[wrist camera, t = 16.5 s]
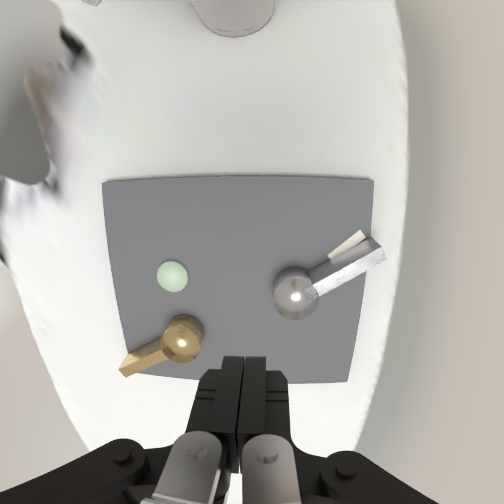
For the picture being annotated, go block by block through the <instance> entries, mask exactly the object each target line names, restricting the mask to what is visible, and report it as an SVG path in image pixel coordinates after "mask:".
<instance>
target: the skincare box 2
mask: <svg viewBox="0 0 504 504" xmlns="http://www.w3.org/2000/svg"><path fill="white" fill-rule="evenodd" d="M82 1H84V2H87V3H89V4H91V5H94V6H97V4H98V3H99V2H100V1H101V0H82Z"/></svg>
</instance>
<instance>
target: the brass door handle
mask: <svg viewBox="0 0 504 504" xmlns="http://www.w3.org/2000/svg"><path fill="white" fill-rule="evenodd" d="M203 338H204V328H203V326H202V324H201V323H200V322H199V321H198V320H197V319H195V318H194V317H191V316H188V315H179V316H176V317H174V318H173V319H172V320H171V321H170V323H169V325H168V327H167V328H166V330H165V332H164V334H163V336H162V337H161V338H159V339H157V340H155V341H153V342H151V343H149V344H147V345H145V346H143V347H141V348H139V349H137V350H135V351H133V352H131V353H129V354H128V355H127V357H126V358H125V360H124V361H123V363H122V364H121V366H120V368H119V369H118V370H119V371H120V372H121V373H122V374H123V375H124V376H125V377H128V376H130V375H132V374H135V373H137V372H139V371H142V370H144V369H146V368H149V367H151V366H153V365H155V364H158V363H160V362H162V361H164V360H167V359H170V360H172V361H174V362H178V363H189V362H191V361H193V360H194V359H195V358H196V357H197V355H198V353H199V350H200V347H201V344H202V341H203Z"/></svg>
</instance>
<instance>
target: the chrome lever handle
mask: <svg viewBox="0 0 504 504" xmlns="http://www.w3.org/2000/svg"><path fill="white" fill-rule="evenodd" d="M386 259H387V258H386V255H385V253H384V251H383V249H382V247H381V246H380V245H379V244H378V243H377V242H376V241H375V240H374V239H373V238H372V237H370V238H368V239H366V240H364V241H363V242H361V243H359V244H357V245H356V246H354V247H352V248H350V249H349V250H347V251H345V252H343V253H341V254H340V255H338V256H336V257H334V258H332V259H331V260H329V261H327V262H325V263H323V264H322V265H320V266H318V267H316V268H314V269H312V270H310V271H309V272H308V271H307V270H305V269H303V268H300V267H290V268H286V269H284V270H283V271H281V272H280V273H279V274H278V275H277V277H276V279H275V281H274V306H275V309H276V310H277V312H278V313H279V314H280V315H281V316H282V317H284V318H286V319H289V320H302V319H305V318H307V317H309V316H310V315H312V314H313V313H314V312H315V310H316V309H317V307H318V304H319V296H321V295H323V294H325V293H327V292H328V291H330V290H332V289H334V288H336V287H338V286H340V285H341V284H343V283H345V282H347V281H349V280H350V279H352V278H354V277H356V276H358V275H359V274H361V273H363V272H365V271H367V270H368V269H370V268H372V267H374V266H375V265H377V264H379V263H381V262H382V261H384V260H386Z"/></svg>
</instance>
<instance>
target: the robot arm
mask: <svg viewBox="0 0 504 504" xmlns="http://www.w3.org/2000/svg"><path fill="white" fill-rule="evenodd" d="M190 2H191V3H192V5H193V7H194V9H195V10H196V12H197V14H198V16H199V17H200V19H201V21H202V22H203V24H204V25H205V26H206V27H207V28H208V29H209V30H211V31H212V32H214V33H216V34H219V35H223V36H227V37H239V36H245V35H248V34H252V33H254V32H256V31H258V30H260V29H261V28H262V27H264V26H265V25H266V24H267V23H268V21H269V20H270V18H271V16H272V15H273V11H274V0H190ZM239 464H240V472H241V474H242V496H243V504H438V503H437V502H435V501H433V500H431V499H430V498H428V497H426V496H425V495H423V494H421V493H420V492H418V491H417V490H415V489H413V488H411V487H410V486H408V485H407V484H405V483H404V482H402V481H400V480H399V479H397V478H396V477H394V476H393V475H391V474H390V473H388V472H387V471H385V470H384V469H382V468H381V467H379V466H378V465H376V464H375V463H373V462H372V461H370V460H369V459H367V458H366V457H365V456H363V455H361V454H360V453H357V452H354V451H339V452H336V453H333V454H331V455H330V456H328V457H327V458H325V457H320V456H315V455H310V454H307V453H305V452H303V451H301V450H300V449H298V448H297V447H296V446H295V445H294V443H293V441H292V439H291V434H290V415H289V397H288V381H287V379H286V377H285V376H284V374H283V373H282V371H281V370H266V356H246V358H245V357H244V356H224V357H223V361H222V366H221V369H208V370H207V371H206V372H205V373H204V374H203V376H202V377H201V378H200V381H199V385H198V388H197V392H196V395H195V399H194V403H193V406H192V410H191V414H190V417H189V421H188V425H187V428H186V431H185V434H183V435H181V436H180V437H179V438H178V439H177V440H176V441H175V442H174V444H172V445H170V446H167V447H162V448H153V449H143V447H142V446H141V445H140V444H139V443H137V442H136V441H134V440H131V439H116V440H113V441H111V442H109V443H107V444H105V445H103V446H101V447H99V448H97V449H95V450H93V451H91V452H89V453H88V454H86V455H84V456H82V457H80V458H77V459H75V460H73V461H71V462H69V463H67V464H65V465H63V466H61V467H59V468H57V469H54V470H52V471H50V472H48V473H46V474H43V475H41V476H39V477H37V478H34V479H32V480H30V481H27V482H25V483H23V484H20V485H18V486H15V487H13V488H10V489H8V490H5V491H3V492H0V504H226V502H227V498H228V493H229V486H230V477H231V473H237V474H239Z"/></svg>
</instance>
